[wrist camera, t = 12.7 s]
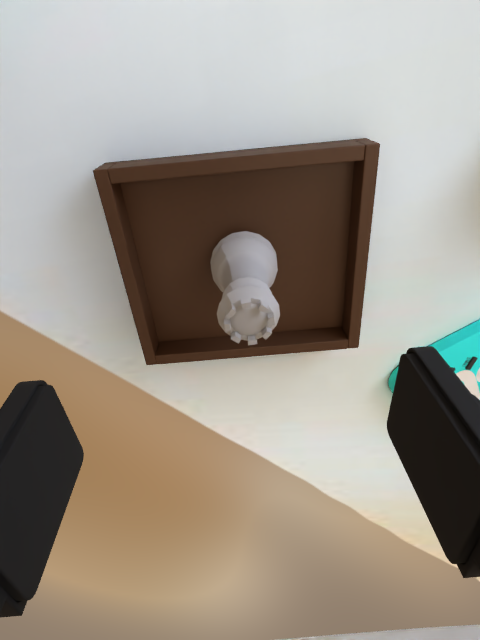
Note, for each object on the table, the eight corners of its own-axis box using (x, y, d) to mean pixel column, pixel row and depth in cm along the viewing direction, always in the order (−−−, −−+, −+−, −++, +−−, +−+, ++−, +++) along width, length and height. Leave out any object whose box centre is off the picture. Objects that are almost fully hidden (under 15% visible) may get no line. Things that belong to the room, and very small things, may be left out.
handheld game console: (498, 309, 28) (510, 318, 27) (546, 424, 35) (557, 436, 34) (378, 371, 31) (384, 382, 30) (444, 466, 38) (451, 478, 37)
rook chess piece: (196, 259, 25) (185, 323, 18) (246, 214, 23) (253, 265, 17) (241, 301, 27) (245, 374, 20) (290, 262, 25) (312, 326, 19)
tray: (152, 346, 29) (146, 365, 27) (104, 162, 22) (92, 170, 20) (349, 329, 29) (358, 348, 27) (366, 138, 22) (380, 143, 20)
